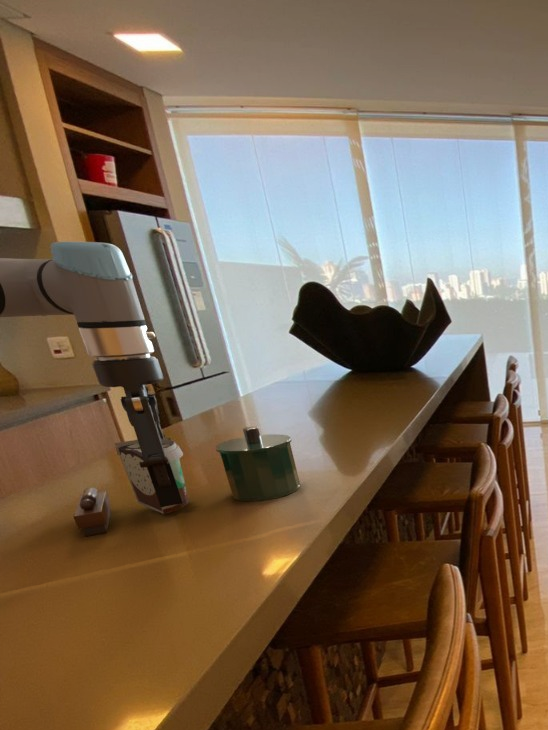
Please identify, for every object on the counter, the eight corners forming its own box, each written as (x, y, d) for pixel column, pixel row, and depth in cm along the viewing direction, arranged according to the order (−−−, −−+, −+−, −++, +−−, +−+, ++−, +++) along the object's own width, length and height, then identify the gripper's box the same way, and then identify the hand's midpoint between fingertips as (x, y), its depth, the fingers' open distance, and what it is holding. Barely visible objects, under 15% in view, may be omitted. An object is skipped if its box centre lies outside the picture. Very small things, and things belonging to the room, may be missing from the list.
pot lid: (214, 447, 98) (208, 427, 97) (286, 437, 104) (281, 417, 103) (220, 461, 90) (213, 439, 89) (297, 449, 97) (292, 428, 95)
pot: (230, 490, 101) (216, 444, 98) (294, 478, 107) (283, 434, 104) (236, 505, 94) (221, 456, 90) (305, 492, 100) (293, 445, 96)
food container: (212, 503, 93) (194, 444, 89) (168, 515, 88) (146, 454, 84) (177, 490, 98) (159, 434, 95) (134, 501, 94) (113, 442, 90)
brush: (88, 514, 91) (77, 485, 89) (113, 509, 92) (102, 481, 91) (82, 538, 82) (69, 506, 80) (109, 532, 84) (97, 502, 82)
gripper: (156, 362, 77) (204, 509, 85) (155, 349, 95) (195, 472, 103) (82, 367, 73) (140, 521, 81) (96, 352, 90) (142, 480, 98)
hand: (171, 494), depth 92 cm, fingers closed on food container, 12 cm apart
